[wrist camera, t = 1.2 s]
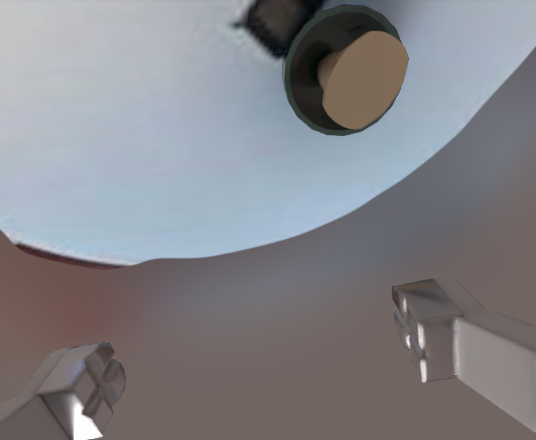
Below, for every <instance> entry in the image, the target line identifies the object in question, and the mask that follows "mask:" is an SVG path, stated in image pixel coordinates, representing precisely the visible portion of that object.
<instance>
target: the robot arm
mask: <svg viewBox="0 0 536 440" xmlns="http://www.w3.org/2000/svg"><path fill="white" fill-rule="evenodd" d="M392 299H393V301H394V303H395V304H396V306H397V308H396V310H395V311H394V317H395V323H396V327H397V331H398V334H399V337H400V339H401V341H402V343H403V345H404V347H405V348H406V349H408V350H410V351H411V360H412V363H413V365H414V366H415V368H416V370H417V372H418V374H419V376H420V378H421V380H422V382H423V383H424V382H431V381H439V380H445V379H453V378H460V380H461V381H462V382H464V383H465V384H467V385H468V386H470V387H471V388H472V389H474V390H476V391H477V392H478V393H480V394H481V395H482V396H484V397H485V398H487V399H488V400H490V401H491V402H493V403H494V404H495V405H497V406H498V407H500V408H501V409H503V410H504V411H505V412H507V413H508V414H510V415H511V416H512V417H514V418H515V419H517V420H518V421H520V422H521V423H523V424H524V425H525V426H527V427H529V428H530V429H531V430H532V431H534V432H535V433H536V326H535V325H532V324H530V323H527V322H524V321H522V320H519V319H516V318H514V317H511V316H508V315H505V314H503V313H500V312H497V311H491V312H489V311H488V310H487V309H486V308H485V307H484V306H483V305H482V304H481V303H480V302H479V301H478V300H477V299H476V298H475V297H474V296H473V295H472V294H471V293H470V292H469V291H468V290H467V289H466V288H465V287H464V286H463V285H462V284H461V283H460V282H459V281H458V280H457V279H456V278H455V277H454V276H453V275H451V274H446V275H441V276H437V277H432V278H430V279H426V280H421V281H417V282H411V283H406V284H401V285H396V286H392ZM113 356H114V350H113V348H112V347H111V345H110V343H106V342H100V343H94V344H88V345H82V346H77V347H72V348H66V349H60V350H57V351H55V352H52V353H51V354H50V355H49V356H48V358H47V359H46V360H45V361H44V363H43V364H42V365H41V366H40V368H39V369H38V370H37V371H36V372H35V374H34V375H33V376H32V377H31V379H30V380H29V381H28V382H27V384H26V385H25V386H24V387H23V389H22V390H21V391H20V392H19V394H18V395H17V396H16V397H15V398H14V399H10V400H8V401H6V402H5V403H4V404H2V405H1V406H0V440H87V439H92V438H97V437H102V436H103V435H104V432H105V430H106V428H107V426H108V424H109V422H110V420H111V417H112V415H113V413H114V412H113V408H112V406H113V405H114V404H115V403H116V402H117V401H118V400H119V399H120V398H121V396H122V394H123V391H124V389H125V381H126V376H125V371H124V368H123V367H122V365H121V363H119V362H118V361H116V360H115V359H113Z"/></svg>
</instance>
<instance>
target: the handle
mask: <svg viewBox="0 0 536 440" xmlns="http://www.w3.org/2000/svg"><path fill="white" fill-rule="evenodd" d="M408 60H409V58H408V54H407V52H406V49H405V47H404V46H403V45H402V44H401V42H400V41H399V40H397V39H396V38H395V37H393V36H392V35H390V34H388V33H385V32H382V31H370V32H366V33H365V34H363V35H362V36H360V37H359V38H358V39H356V40H355V41H354V42H352V43H351V44H350V45H348V46H347V47H346V48H345V49H344V50H342V51H336V52H333V53H330V54H328V55H327V56H325V57H324V58H323V59H322V60H321V61H320V62H319V63H318V69H317V79H318V82H319V84H320V86H321V87H322V89H323V90H324V94H323V103H322V104H323V107H324V109H325V111H326V112H327V114H328V115H329V116H330V117H331V118H332V120H334V121H335V122H336V123H338V124H339V125H341V126H343V127H346V128H349V129H361V128H363V127H364V126H366V125H368V124H369V123H371V122H372V121H374V120H375V119H377V118H378V117H379V116H380V115H382V114H383V113H384V112H385V110H386V109H387V108H388V107H389V105H390V104H391V102H392V101H393V100H394V98H395V97H396V95H397V94H398V92H399V90H400V89H401V86H402V84H403V81H404V77H405V73H406V69H407V64H408Z"/></svg>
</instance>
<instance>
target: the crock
mask: <svg viewBox="0 0 536 440" xmlns="http://www.w3.org/2000/svg"><path fill="white" fill-rule="evenodd" d="M370 31H382V32H385V33H388V34H390V35H392V36H393V37H395V38H396V39H397V40H399V41H400V42H401V40H400V37H399V35H398V32H397V30H396V28H395V27H394V26H393V25H392V24H391V23H390V22H389V21H388V20H387V19H386V17H385V16H384V15H382V14H381V13H379V12H377V11H375V10H373V9H370V8H368V7H366V6H363V5H346V4H344V5H340V6H337V7H334V8H331V9H328V10H324V11H323V12H321V13H320V14H318V15H317V16H316V17H314V18H313V19H312V20H310V21H309V22H307V23H306V24H305V25H303V26H302V27H301V28H300V29H299V30H298V31H297V32H296V34H295V35H294V36H293V38H292V39H291V40H290V42H289V43H288V46H287V49H286V51H285V54H284V57H283V61H282V81H283V85H284V90H285V93H286V96H287V99H288V102H289V104H290V105H291V107H292V109H293V110H294V112H295V114H296V115H297V117H298V118H299V119H300V120H301V121H302V122H304V123H305V124H306V125H307V126H308V127H309V128H311V129H313V130H315V131H318V132H320V133H323V134H325V135H336V136H346V135H350V134H354V133H357V132H361V131H363V130H365V129H366V128H368V127H370V126H371V125H373V124H375V123H376V122H378V121H379V120H380V119H381V118H382V117H383V115H384V114H385V113H386V112H387V111H388V110H389V109H390V108H391V107H392V105H393V103H394V101H395V99H396V97H397V95H398V94H399V92H400V90H401V89H400V90H399V92H398V94H397V95H396V97H395V98H394V100H393V101H392V102H391V104H390V105H389V107H388V108H387V109H386V110H385V112H384V113H383V114H382V115H380V116H379V117H378V118H377V119H375V120H374V121H372V122H371V123H369V124H368V125H366V126H364V127H363V128H361V129H349V128H346V127H343V126H341V125H339V124H338V123H336V122H335V121H334V120H332V118H331V117H330V116H329V115H328V114H327V112H326V111H325V109H324V107H323V104H322V103H323V94H324V90H323V89H322V87H321V86H320V84H319V82H318V79H317V69H318V63H319V62H320V61H321V60H322V59H323V58H324V57H325V56H327V55H328V54H330V53H333V52H336V51H342V50H344V49H345V48H346V47H347V46H348V45H350V44H351V43H352V42H354V41H355V40H356V39H358V38H359V37H360V36H362V35H363V34H365V33H366V32H370ZM401 44H402V42H401ZM402 45H403V44H402Z"/></svg>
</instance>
